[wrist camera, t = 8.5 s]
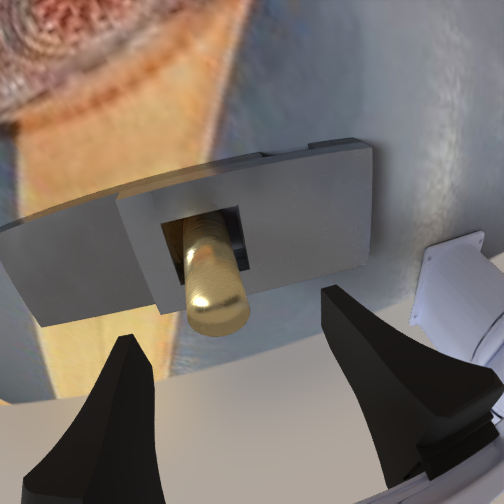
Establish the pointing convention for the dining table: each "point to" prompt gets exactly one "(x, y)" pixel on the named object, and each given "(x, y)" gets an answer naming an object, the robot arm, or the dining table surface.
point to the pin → (212, 277)
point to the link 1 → (84, 255)
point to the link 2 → (262, 217)
